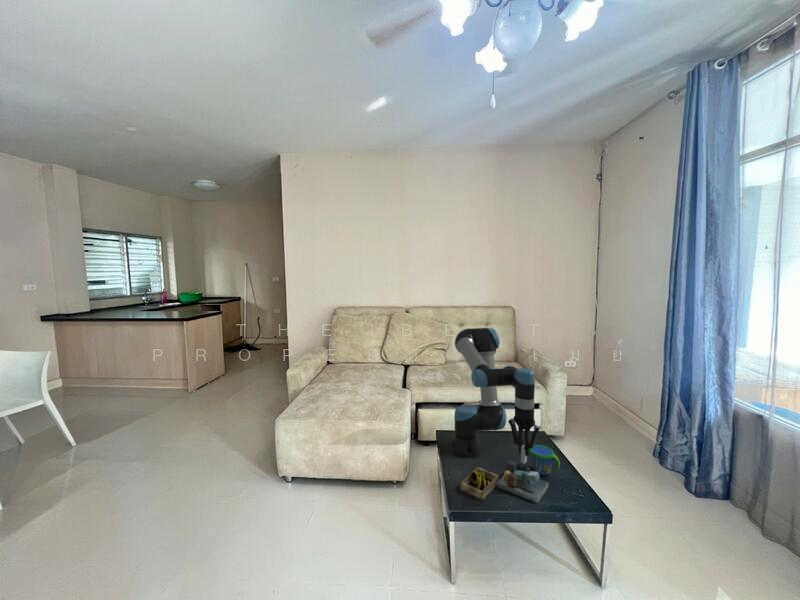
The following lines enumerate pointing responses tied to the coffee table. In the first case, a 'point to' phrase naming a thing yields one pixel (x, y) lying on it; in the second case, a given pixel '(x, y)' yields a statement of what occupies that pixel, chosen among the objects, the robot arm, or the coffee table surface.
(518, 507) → the coffee table surface
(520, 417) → the robot arm
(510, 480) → the brown rectangular block
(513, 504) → the coffee table surface
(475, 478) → the opera glasses
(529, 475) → the block
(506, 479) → the ochre button
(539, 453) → the snack cup
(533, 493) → the panel
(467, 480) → the wooden tray
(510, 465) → the dark grey block
